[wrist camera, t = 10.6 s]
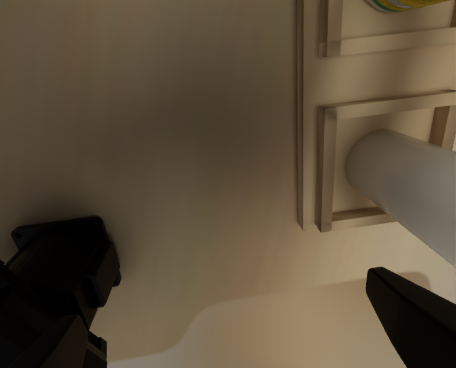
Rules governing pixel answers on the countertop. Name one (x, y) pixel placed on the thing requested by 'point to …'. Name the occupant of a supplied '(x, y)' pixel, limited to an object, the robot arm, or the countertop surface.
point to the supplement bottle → (401, 4)
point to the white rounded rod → (409, 185)
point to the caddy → (366, 95)
